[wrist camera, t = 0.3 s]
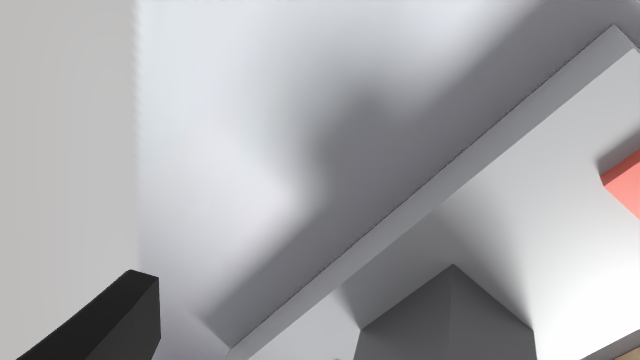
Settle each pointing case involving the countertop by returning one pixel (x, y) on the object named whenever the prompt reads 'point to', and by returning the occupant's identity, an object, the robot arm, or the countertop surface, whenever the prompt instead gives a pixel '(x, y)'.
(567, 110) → the power strip
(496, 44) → the countertop surface
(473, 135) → the countertop surface
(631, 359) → the oak board
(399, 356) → the block
